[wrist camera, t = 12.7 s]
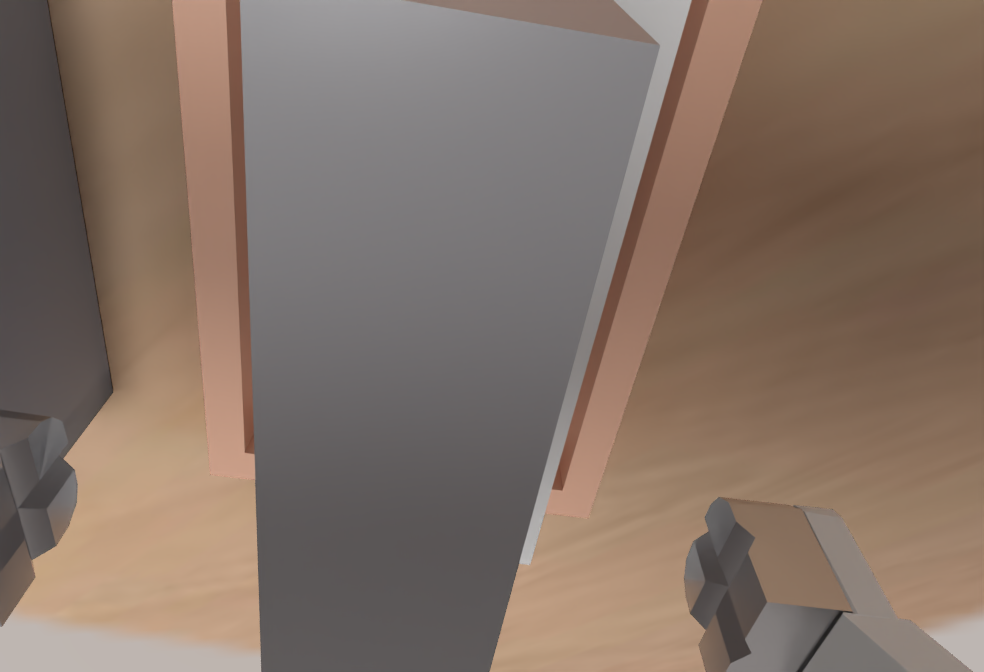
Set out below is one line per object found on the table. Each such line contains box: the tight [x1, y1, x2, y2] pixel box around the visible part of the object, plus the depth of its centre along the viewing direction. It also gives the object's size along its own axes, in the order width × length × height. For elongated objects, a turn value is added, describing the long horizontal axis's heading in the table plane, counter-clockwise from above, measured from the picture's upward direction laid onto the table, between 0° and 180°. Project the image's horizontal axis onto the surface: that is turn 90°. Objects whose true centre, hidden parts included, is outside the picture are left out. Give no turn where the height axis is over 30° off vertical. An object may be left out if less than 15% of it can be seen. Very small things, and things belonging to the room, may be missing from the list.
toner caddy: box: [240, 0, 692, 672], centre depth 12 cm, size 6×12×12 cm, turn 171°
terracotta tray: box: [172, 0, 763, 518], centre depth 17 cm, size 11×17×3 cm, turn 171°
